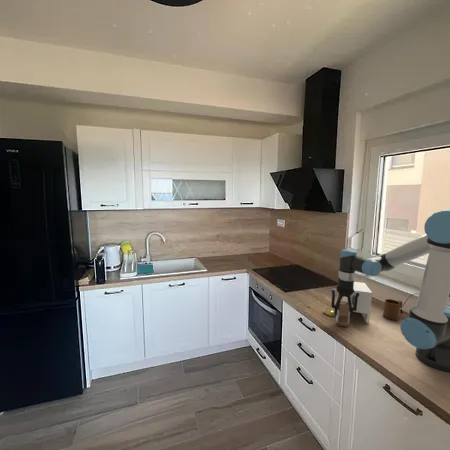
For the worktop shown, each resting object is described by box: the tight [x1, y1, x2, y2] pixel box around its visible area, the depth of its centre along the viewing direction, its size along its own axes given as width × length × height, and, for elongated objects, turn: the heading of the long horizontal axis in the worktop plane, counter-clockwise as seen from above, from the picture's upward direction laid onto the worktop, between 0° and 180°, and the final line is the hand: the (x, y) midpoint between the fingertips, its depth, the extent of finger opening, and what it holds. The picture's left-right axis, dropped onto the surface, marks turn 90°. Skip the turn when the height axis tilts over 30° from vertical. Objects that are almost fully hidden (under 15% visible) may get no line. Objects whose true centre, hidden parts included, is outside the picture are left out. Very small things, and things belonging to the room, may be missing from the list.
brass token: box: [324, 307, 336, 318], centre depth 149 cm, size 7×7×2 cm
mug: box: [382, 298, 403, 321], centre depth 148 cm, size 12×8×9 cm, turn 111°
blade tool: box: [336, 300, 349, 328], centre depth 143 cm, size 20×4×12 cm, turn 164°
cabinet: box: [342, 281, 373, 325], centre depth 147 cm, size 17×11×18 cm, turn 164°
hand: (342, 321), depth 136 cm, fingers closed on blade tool, 4 cm apart
